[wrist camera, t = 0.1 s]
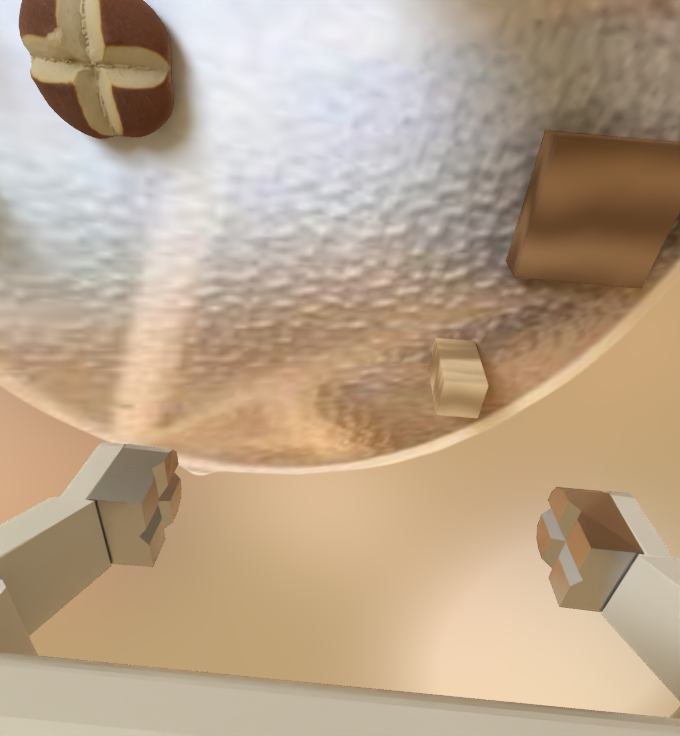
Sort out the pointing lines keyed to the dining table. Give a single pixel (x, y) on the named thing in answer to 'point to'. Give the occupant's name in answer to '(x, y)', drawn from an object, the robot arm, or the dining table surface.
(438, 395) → the maple block
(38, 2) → the bread
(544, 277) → the walnut base block
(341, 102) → the dining table surface
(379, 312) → the dining table surface
